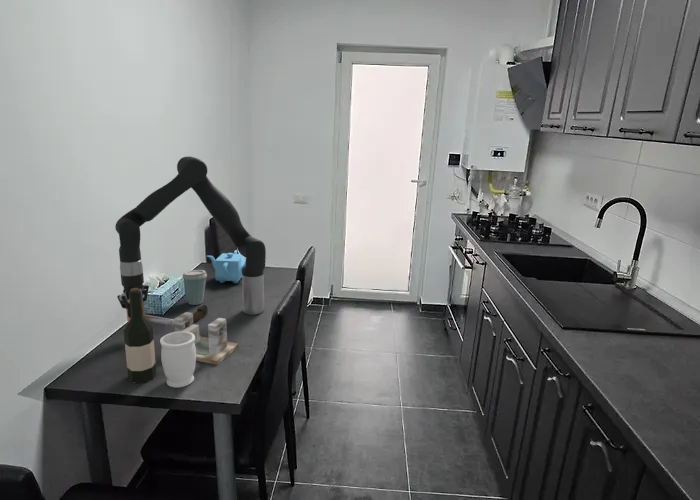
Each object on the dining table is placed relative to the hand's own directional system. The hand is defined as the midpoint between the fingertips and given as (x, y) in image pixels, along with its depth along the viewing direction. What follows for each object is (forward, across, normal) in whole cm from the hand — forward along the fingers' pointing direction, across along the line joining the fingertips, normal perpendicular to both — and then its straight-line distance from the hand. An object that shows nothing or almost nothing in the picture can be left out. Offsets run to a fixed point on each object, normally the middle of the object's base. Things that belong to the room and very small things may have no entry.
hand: (135, 315), depth 173 cm
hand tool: (+10, +21, -10) cm, 25 cm away
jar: (+10, -20, -34) cm, 41 cm away
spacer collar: (+7, 0, -24) cm, 25 cm away
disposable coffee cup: (+9, +39, +2) cm, 40 cm away
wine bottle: (+9, -22, -21) cm, 32 cm away
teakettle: (+9, +74, +5) cm, 75 cm away
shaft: (+3, 0, -10) cm, 10 cm away
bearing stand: (+9, 0, -28) cm, 30 cm away
